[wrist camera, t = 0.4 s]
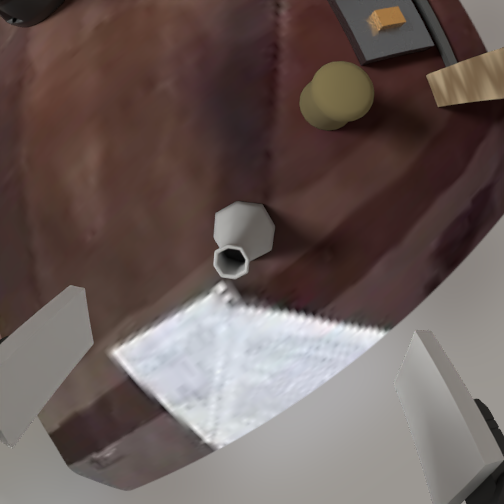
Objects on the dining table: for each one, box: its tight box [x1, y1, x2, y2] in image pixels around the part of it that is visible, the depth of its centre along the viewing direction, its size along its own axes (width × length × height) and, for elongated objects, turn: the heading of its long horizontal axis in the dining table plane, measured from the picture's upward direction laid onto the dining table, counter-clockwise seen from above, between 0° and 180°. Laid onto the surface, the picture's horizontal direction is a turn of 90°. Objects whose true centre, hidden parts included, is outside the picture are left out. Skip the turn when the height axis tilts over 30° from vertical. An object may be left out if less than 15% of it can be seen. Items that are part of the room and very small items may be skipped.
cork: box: [299, 61, 374, 131], centre depth 27 cm, size 6×6×11 cm
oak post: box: [426, 47, 504, 107], centre depth 18 cm, size 4×4×24 cm
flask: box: [214, 201, 275, 279], centre depth 33 cm, size 7×7×10 cm
